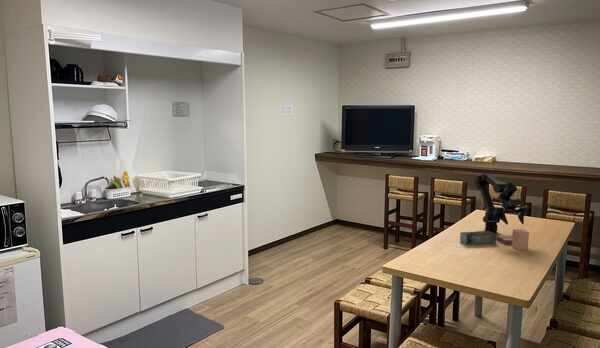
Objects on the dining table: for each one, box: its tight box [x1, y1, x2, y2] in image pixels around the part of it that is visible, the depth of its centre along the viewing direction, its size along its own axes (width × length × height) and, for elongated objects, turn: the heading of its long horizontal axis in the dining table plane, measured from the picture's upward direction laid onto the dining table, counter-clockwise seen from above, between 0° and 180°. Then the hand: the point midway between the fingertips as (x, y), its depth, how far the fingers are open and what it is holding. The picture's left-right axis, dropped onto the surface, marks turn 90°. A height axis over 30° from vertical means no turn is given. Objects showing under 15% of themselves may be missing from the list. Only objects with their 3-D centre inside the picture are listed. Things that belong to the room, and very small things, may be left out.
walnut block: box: [496, 234, 513, 245], centre depth 263 cm, size 10×10×3 cm
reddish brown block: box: [511, 228, 530, 251], centre depth 251 cm, size 6×6×10 cm
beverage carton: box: [459, 230, 497, 246], centre depth 262 cm, size 8×19×7 cm, turn 98°
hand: (515, 224), depth 256 cm, fingers open, 9 cm apart
